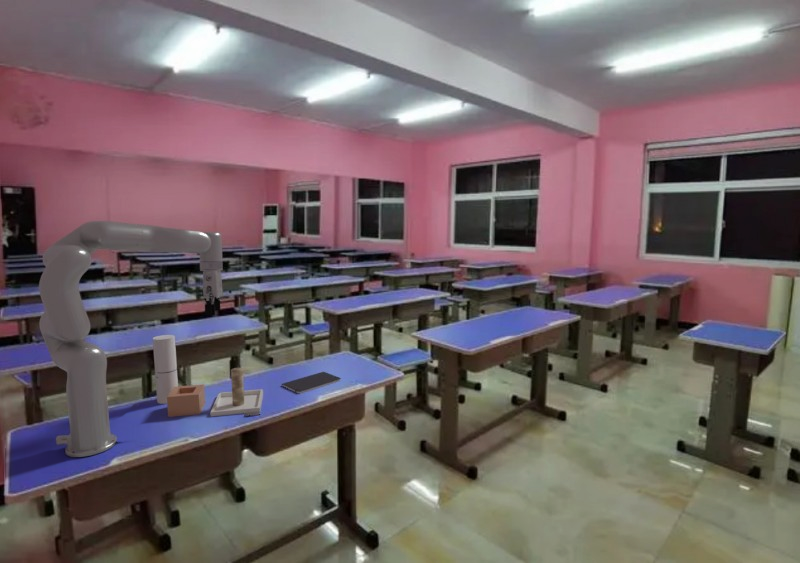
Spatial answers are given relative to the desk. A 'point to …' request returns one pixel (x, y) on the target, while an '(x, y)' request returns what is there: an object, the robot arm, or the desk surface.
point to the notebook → (311, 382)
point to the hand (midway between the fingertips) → (213, 312)
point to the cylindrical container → (165, 366)
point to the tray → (249, 407)
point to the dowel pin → (237, 386)
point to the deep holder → (186, 400)
